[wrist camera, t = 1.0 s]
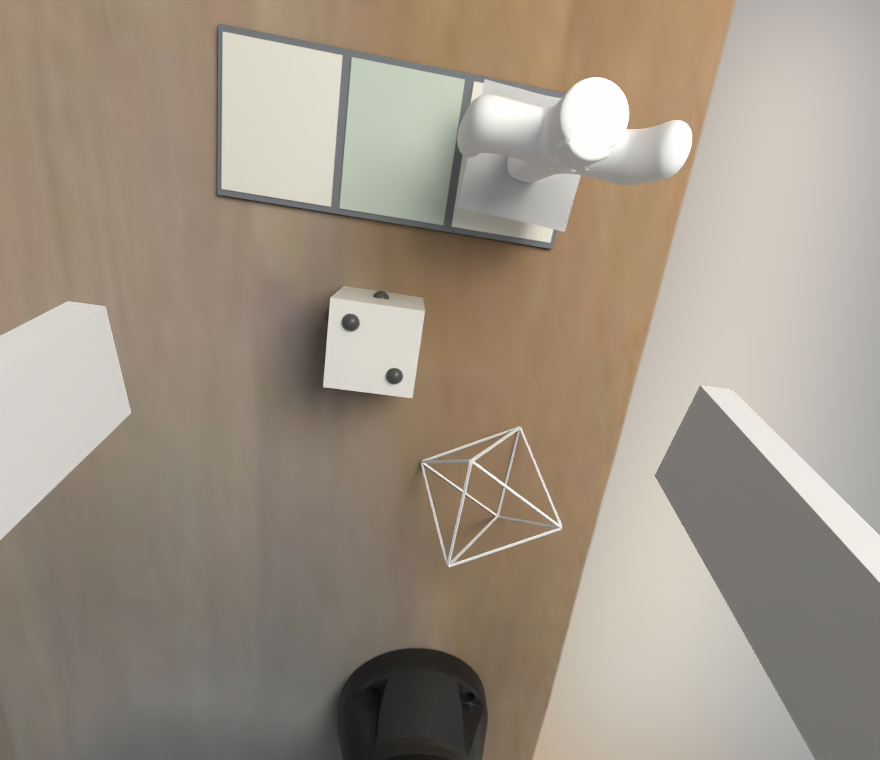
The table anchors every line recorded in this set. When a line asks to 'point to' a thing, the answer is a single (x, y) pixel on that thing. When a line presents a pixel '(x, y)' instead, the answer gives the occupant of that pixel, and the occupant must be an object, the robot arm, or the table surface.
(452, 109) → the game mat
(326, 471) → the table surface
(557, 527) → the geometric polyhedron
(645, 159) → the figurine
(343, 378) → the die
